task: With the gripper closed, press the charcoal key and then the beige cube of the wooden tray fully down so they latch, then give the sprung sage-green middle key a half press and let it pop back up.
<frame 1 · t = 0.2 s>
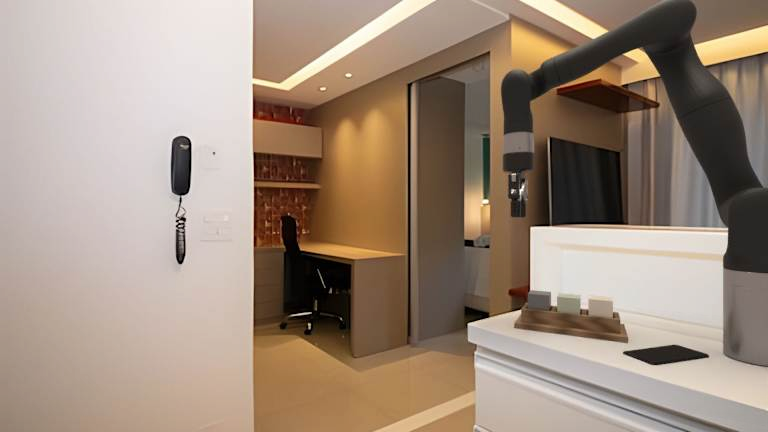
hand: (518, 217, 97), 28 cm above the cabinet, fingers open, 8 cm apart
key sage: (568, 305, 95), point 6 cm above the cabinet, slide at 0.1 cm
key charcoal: (539, 302, 99), point 6 cm above the cabinet, slide at 0.0 cm
beige cube: (600, 308, 92), point 6 cm above the cabinet, slide at 0.0 cm
smartphone: (665, 358, 77), on the cabinet
wooden tray: (568, 328, 95), on the cabinet
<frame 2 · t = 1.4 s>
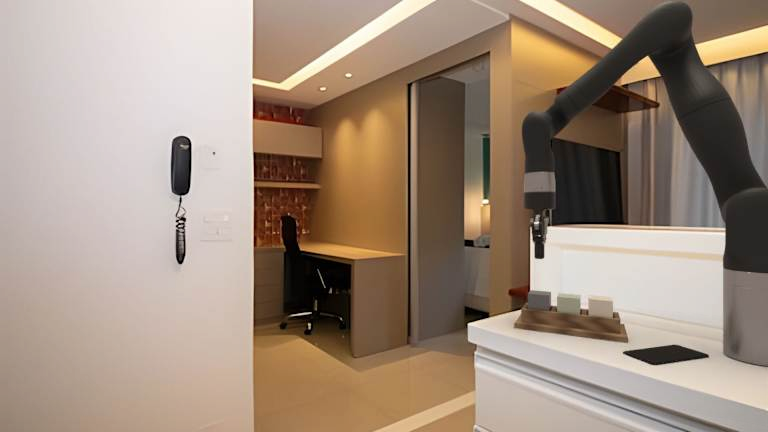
hand: (539, 258, 99), 17 cm above the cabinet, fingers closed
nothing on the cabinet moved.
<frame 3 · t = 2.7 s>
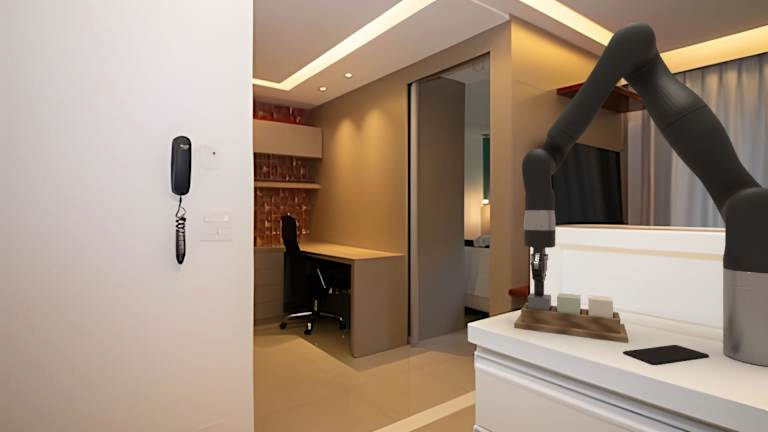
hand: (539, 295, 99), 7 cm above the cabinet, fingers closed
key charcoal: (539, 305, 99), point 5 cm above the cabinet, slide at 0.8 cm, touching gripper
everything else where it was.
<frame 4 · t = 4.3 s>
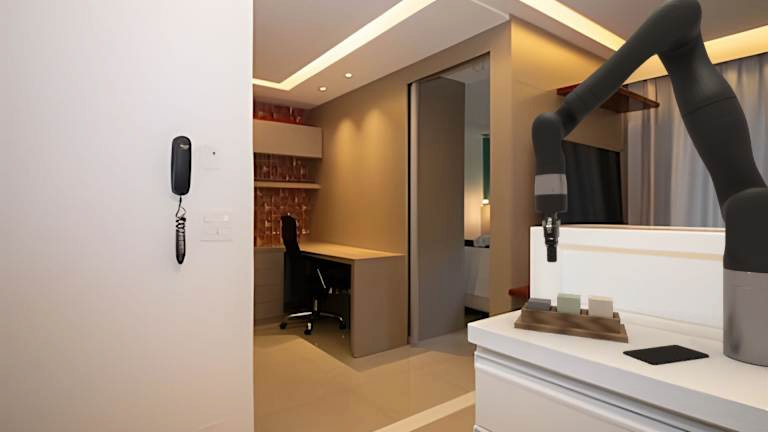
hand: (552, 261, 97), 16 cm above the cabinet, fingers closed
key charcoal: (539, 309, 99), point 4 cm above the cabinet, slide at 1.9 cm
everything else where it was.
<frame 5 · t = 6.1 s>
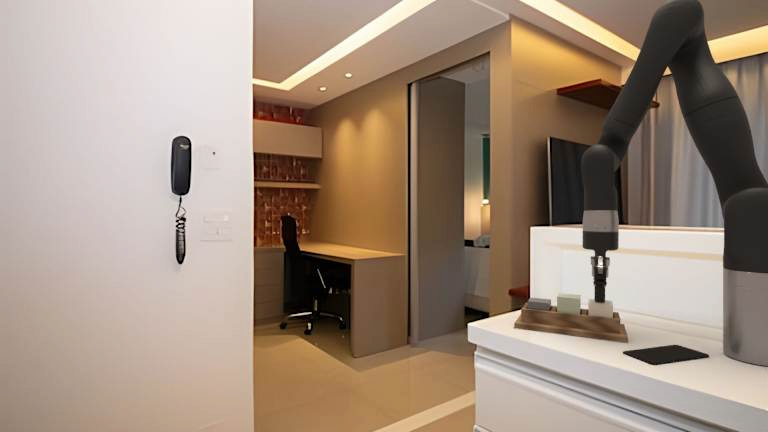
hand: (599, 301, 92), 7 cm above the cabinet, fingers closed
beige cube: (600, 311, 92), point 5 cm above the cabinet, slide at 0.9 cm, touching gripper
everything else where it was.
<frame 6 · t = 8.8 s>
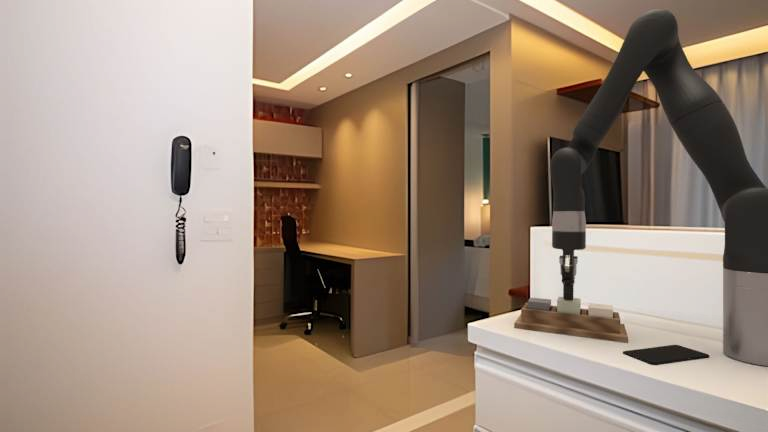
hand: (568, 299, 95), 7 cm above the cabinet, fingers closed
key sage: (568, 309, 95), point 5 cm above the cabinet, slide at 1.0 cm, touching gripper
beige cube: (600, 316, 92), point 4 cm above the cabinet, slide at 2.0 cm
everything else where it was.
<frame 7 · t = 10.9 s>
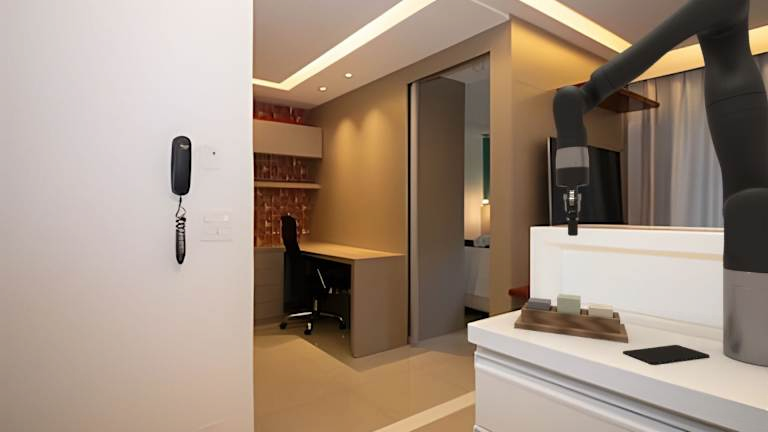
hand: (572, 235, 97), 23 cm above the cabinet, fingers closed
key sage: (568, 306, 95), point 5 cm above the cabinet, slide at 0.4 cm
everything else where it was.
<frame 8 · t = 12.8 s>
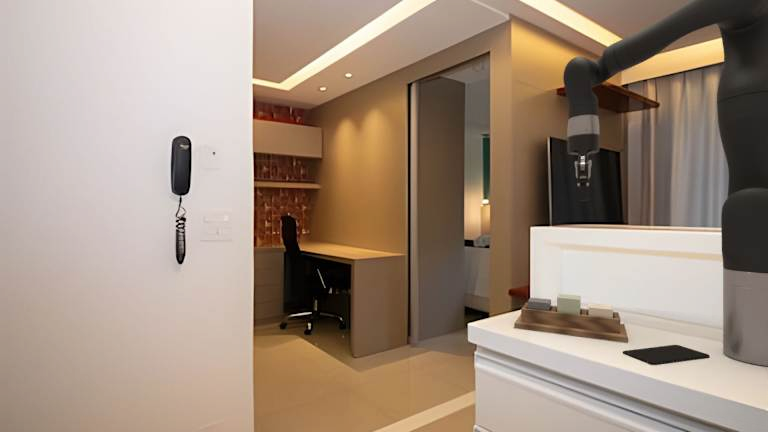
hand: (583, 200, 102), 32 cm above the cabinet, fingers closed
nothing on the cabinet moved.
at the end: key charcoal slide at 1.9 cm; beige cube slide at 2.0 cm; key sage slide at 0.4 cm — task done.
